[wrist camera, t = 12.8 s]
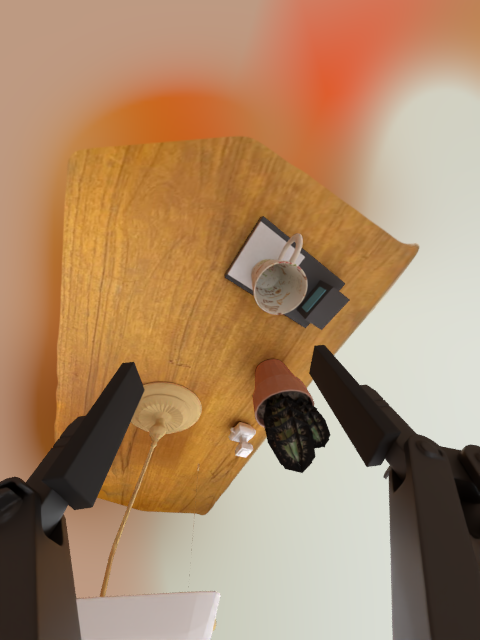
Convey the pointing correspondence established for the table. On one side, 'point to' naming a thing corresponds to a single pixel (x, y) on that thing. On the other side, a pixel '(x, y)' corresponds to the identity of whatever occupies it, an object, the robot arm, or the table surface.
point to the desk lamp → (131, 610)
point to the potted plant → (288, 415)
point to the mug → (280, 281)
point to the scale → (269, 244)
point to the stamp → (242, 438)
